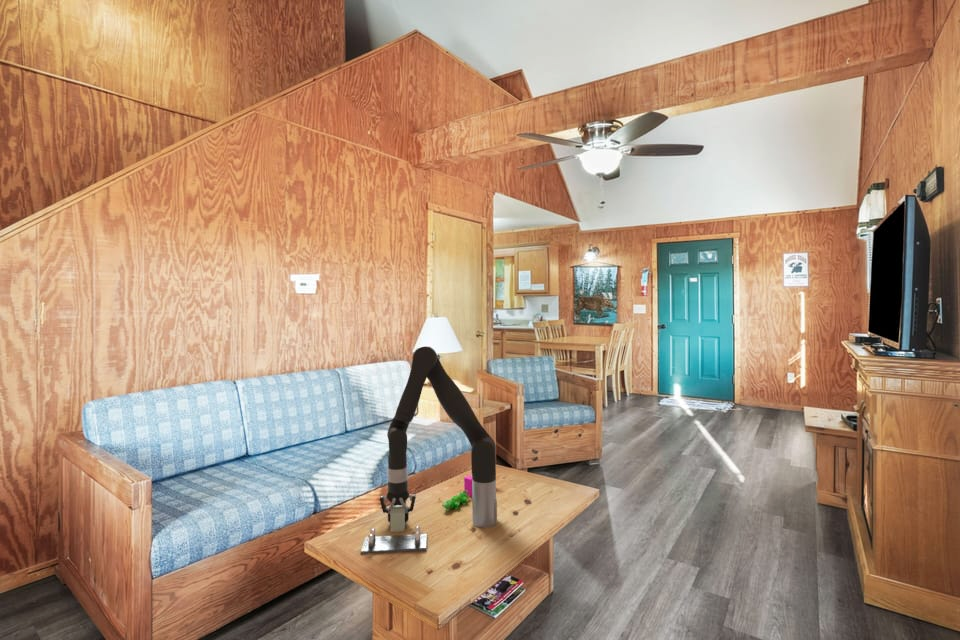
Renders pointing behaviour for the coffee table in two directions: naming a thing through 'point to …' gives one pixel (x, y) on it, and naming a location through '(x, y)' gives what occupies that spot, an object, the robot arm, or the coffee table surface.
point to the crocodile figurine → (456, 501)
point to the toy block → (468, 485)
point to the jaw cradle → (394, 543)
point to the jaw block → (397, 518)
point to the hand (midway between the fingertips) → (398, 521)
